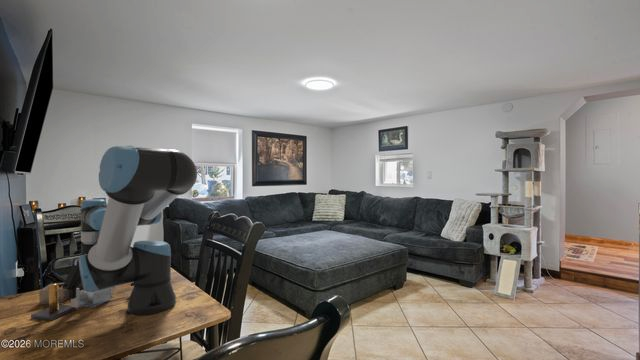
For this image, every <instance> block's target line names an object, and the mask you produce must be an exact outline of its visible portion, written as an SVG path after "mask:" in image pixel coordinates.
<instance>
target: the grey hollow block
mask: <svg viewBox="0 0 640 360" xmlns="http://www.w3.org/2000/svg"><path fill="white" fill-rule="evenodd" d="M111 300H112V291H111V287H110V288H106V289H102V290H100V291H98V290H97V291H91V292H87V291H85V290H81V291H80V307H82V308H90V309H93V308H97V307H98V306H101V305H103V304H105V303H107V302H108V301H111Z"/></svg>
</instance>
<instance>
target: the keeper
mask: <svg viewBox="0 0 640 360" xmlns="http://www.w3.org/2000/svg"><path fill="white" fill-rule="evenodd" d="M51 284H52V285H51V286H50V287H49V304H48V305H49V307H45V308H44V309H41V310H38V311H37V312H33V313H31V314H30V318H31V319H36V320H43V321H48V322H51V321H54V320H56V319H58V318H61V317H63V316H65V315H68V314H69V313H71V312H73V311H76V309H77V307H71V305H69V304H60V303H59V286H58V285H57V284H53V283H51Z"/></svg>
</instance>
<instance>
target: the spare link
mask: <svg viewBox="0 0 640 360" xmlns="http://www.w3.org/2000/svg"><path fill="white" fill-rule="evenodd" d="M64 283H65V282H56V283H49V284H48V285H46V286H45V287H43V288H42V289H39V305H49V287H50V286H51V285H52V284H57V285H58V286H59V304H60V303H64V302H65V301H67V299H70V298H69V290H68V289H63V288H62V287H63V285H64Z"/></svg>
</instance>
